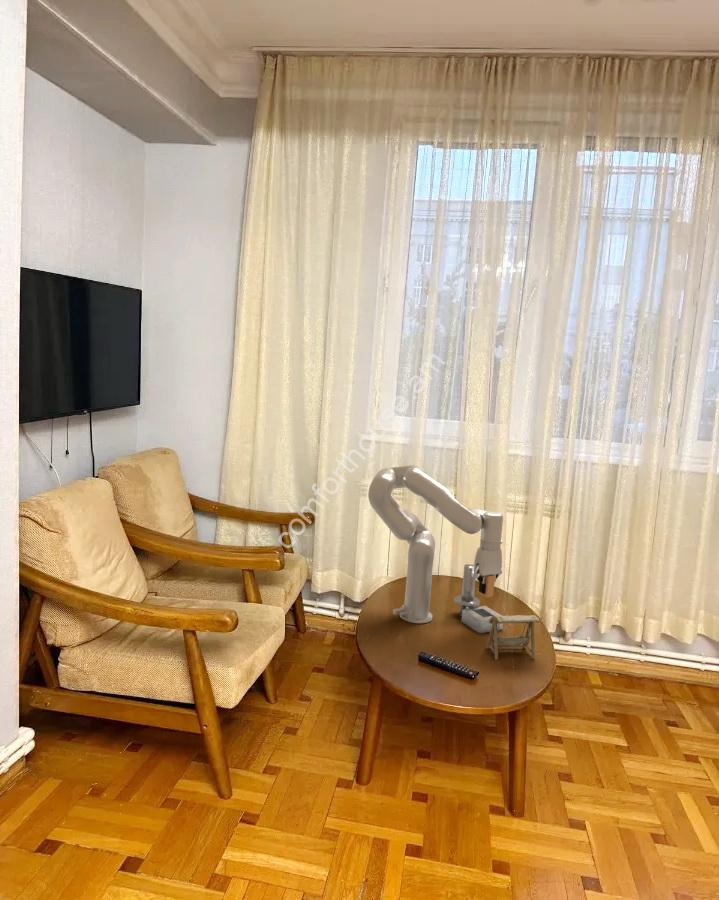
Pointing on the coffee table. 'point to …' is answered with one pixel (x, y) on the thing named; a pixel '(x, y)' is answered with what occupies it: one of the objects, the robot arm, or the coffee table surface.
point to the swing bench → (512, 640)
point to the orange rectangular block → (489, 586)
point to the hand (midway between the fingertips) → (485, 591)
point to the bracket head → (474, 605)
